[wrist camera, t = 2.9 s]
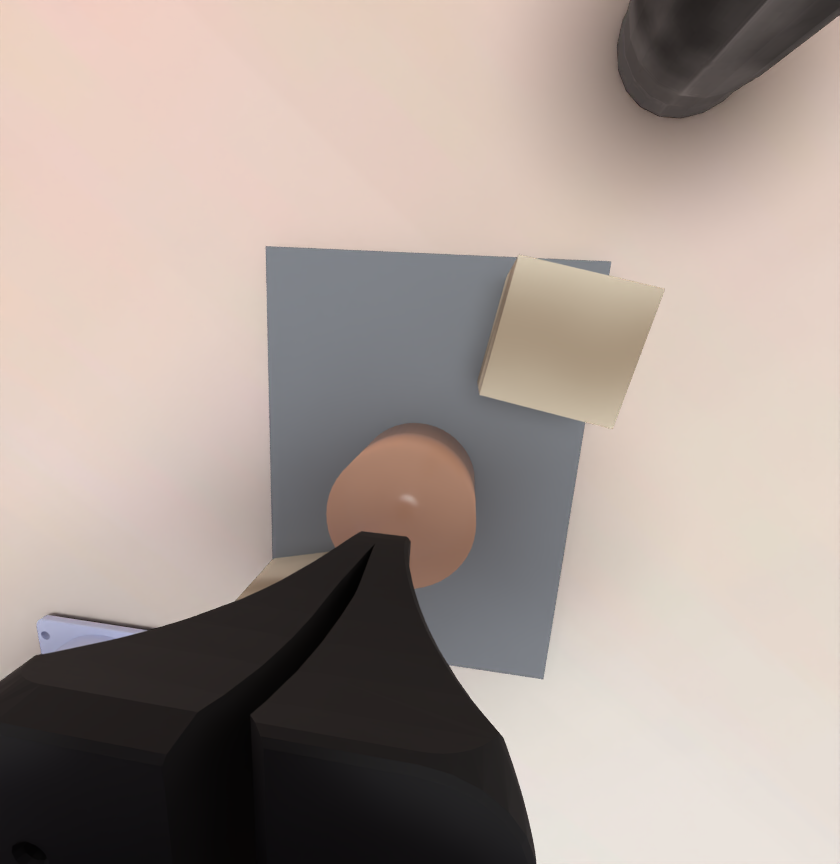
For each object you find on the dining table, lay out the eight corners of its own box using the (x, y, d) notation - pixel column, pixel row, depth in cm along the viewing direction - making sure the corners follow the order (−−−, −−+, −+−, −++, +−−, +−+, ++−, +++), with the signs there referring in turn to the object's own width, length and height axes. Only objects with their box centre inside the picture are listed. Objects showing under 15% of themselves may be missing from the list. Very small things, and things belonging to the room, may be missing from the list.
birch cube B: (577, 407, 16) (612, 429, 12) (477, 381, 16) (479, 394, 12) (613, 302, 15) (665, 288, 11) (506, 276, 15) (519, 254, 11)
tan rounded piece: (469, 540, 17) (468, 598, 14) (357, 527, 18) (325, 579, 14) (480, 428, 16) (483, 456, 12) (360, 417, 17) (327, 441, 13)
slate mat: (541, 669, 19) (543, 679, 18) (280, 630, 20) (274, 638, 20) (605, 264, 15) (611, 261, 14) (273, 249, 16) (265, 246, 16)
